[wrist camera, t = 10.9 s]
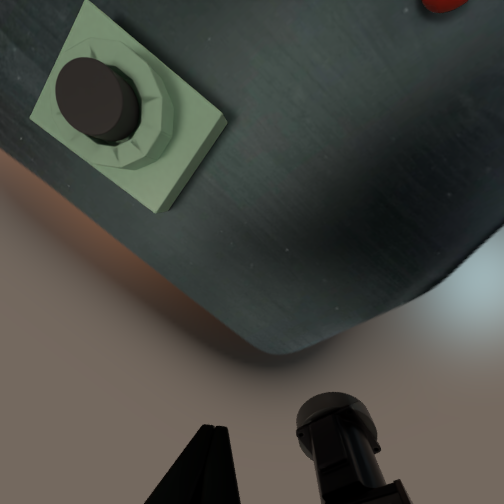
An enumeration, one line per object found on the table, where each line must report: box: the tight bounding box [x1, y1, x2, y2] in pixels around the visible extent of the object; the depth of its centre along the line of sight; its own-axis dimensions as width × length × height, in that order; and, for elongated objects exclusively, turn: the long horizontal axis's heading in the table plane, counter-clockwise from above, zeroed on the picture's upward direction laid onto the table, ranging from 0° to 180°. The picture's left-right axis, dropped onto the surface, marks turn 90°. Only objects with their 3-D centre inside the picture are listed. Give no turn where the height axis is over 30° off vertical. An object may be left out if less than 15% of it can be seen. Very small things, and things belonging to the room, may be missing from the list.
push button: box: [55, 57, 139, 142], centre depth 13 cm, size 4×4×2 cm
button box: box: [30, 0, 227, 214], centre depth 16 cm, size 10×8×4 cm
